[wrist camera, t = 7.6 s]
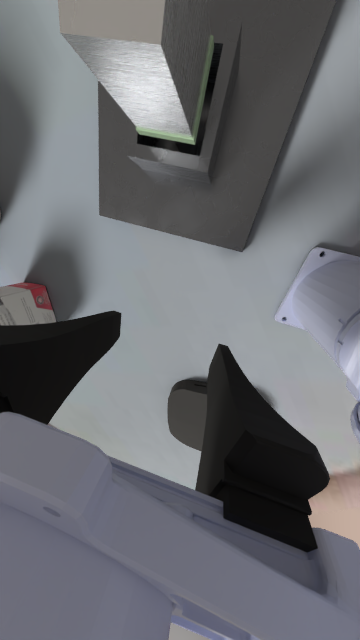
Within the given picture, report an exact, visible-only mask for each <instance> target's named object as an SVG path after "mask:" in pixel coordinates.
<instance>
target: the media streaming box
mask: <svg viewBox="0 0 360 640" xmlns="http://www.w3.org/2000/svg"><path fill="white" fill-rule="evenodd" d="M207 387H208V383H206V382H199V381H192V380H183V381H179V382H177V383H176V384H175V385H174V386H173V388H172V390H171V393H170V395H169V398H168V424H169V429H170V432H171V434H172V435H173V436H174V437H175V438H176V439H178V440H179V441H180V442H182V443H183V444H185V445H187V446H189V447H192V448H194V449H197V450H199V451H202V445H203V438H204V431H205V423H206V415H207Z"/></svg>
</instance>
